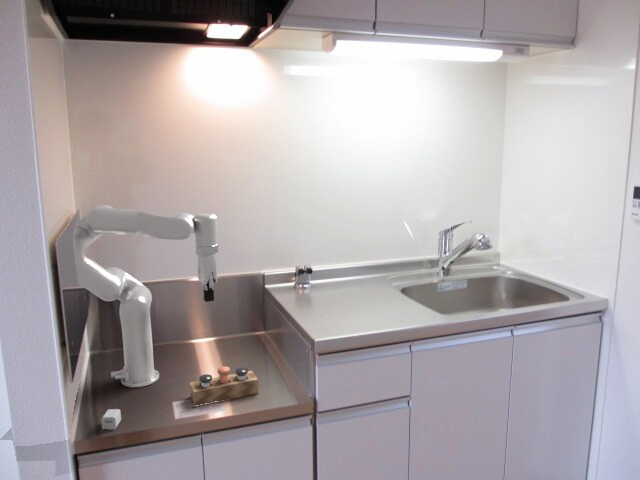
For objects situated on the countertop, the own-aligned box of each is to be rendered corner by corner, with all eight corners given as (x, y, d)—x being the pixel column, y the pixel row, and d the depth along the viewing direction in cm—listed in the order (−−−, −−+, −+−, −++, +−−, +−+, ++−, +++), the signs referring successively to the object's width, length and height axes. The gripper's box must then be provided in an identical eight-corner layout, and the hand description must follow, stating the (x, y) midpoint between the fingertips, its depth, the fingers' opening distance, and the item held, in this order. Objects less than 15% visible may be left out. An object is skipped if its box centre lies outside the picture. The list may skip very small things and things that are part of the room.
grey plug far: (238, 393, 168) (237, 374, 167) (234, 387, 172) (234, 368, 170) (249, 390, 170) (249, 371, 168) (246, 385, 173) (245, 366, 172)
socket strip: (194, 406, 161) (194, 392, 160) (190, 396, 167) (189, 382, 166) (258, 393, 170) (258, 379, 169) (252, 384, 176) (251, 370, 175)
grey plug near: (201, 400, 163) (200, 381, 162) (198, 395, 167) (198, 375, 165) (214, 398, 165) (213, 378, 164) (211, 392, 168) (210, 373, 167)
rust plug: (219, 392, 165) (219, 372, 164) (216, 386, 169) (216, 367, 168) (232, 389, 167) (231, 370, 166) (228, 384, 171) (228, 365, 169)
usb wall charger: (102, 429, 148) (101, 417, 148) (110, 416, 155) (109, 404, 154) (116, 429, 149) (115, 416, 148) (124, 416, 155) (123, 404, 154)
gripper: (191, 246, 180) (193, 296, 184) (200, 255, 167) (203, 308, 171) (212, 244, 184) (214, 293, 187) (223, 253, 170) (225, 305, 174)
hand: (209, 300), depth 179 cm, fingers closed
